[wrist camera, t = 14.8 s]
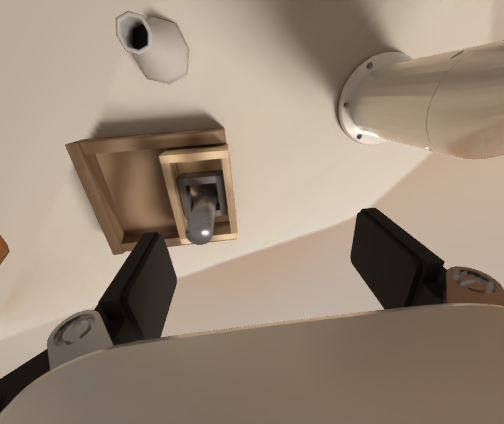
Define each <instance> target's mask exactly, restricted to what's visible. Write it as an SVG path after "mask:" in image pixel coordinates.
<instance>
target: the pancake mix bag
mask: <svg viewBox="0 0 504 424" xmlns="http://www.w3.org/2000/svg"><path fill="white" fill-rule="evenodd" d="M8 253H9V249H8V245H7V244H6V242H5V241H4V239H3V238H2V237H1V236H0V264H1V263H2V262H3V260H4V259H5V257H6V256H7V254H8Z"/></svg>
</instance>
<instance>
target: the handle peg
mask: <svg viewBox="0 0 504 424" xmlns="http://www.w3.org/2000/svg"><path fill="white" fill-rule="evenodd" d="M217 194H218V191H217V187H216V186H215V185H214V184H213V183H209V184H202V185H201V186H200V188H199V191H198V194H197V197H196V200H195V203H194V206H193V209H192V212H191V215H190V218H189V221H188V224H187V227H186V230H185V235H186V238H187V239H188V240H189V241H190V242H191V243H193V244H197V245H202V244H206V243H208V242H209V241H210V240H211V239H212V236H213V228H214V220H215V211H216V202H217Z"/></svg>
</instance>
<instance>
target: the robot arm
mask: <svg viewBox="0 0 504 424" xmlns="http://www.w3.org/2000/svg"><path fill="white" fill-rule="evenodd" d="M367 65H368V67H367ZM344 103H345V106H344ZM338 110H339V120H340V124H341V126H342V128H343V130H344V132H345V133H346V134H347V136H349V137H350V138H351V139H352V140H354V141H356V142H358V143H362V144H366V145H376V144H380V143H384V142H386V141H388V140H391V141H395V142H399V143H403V144H407V145H411V146H415V147H418V148H422V149H426V150H430V151H434V152H438V153H442V154H445V155H450V156H453V157H458V158H463V159H486V158H493V157H497V156H501V155H504V40H503V41H498V42H493V43H489V44H486V45H481V46H476V47H471V48H466V49H462V50H457V51H452V52H447V53H443V54H438V55H433V56H428V57H423V58H419V59H414V60H413V59H412V58H411V57H409V56H408V55H406V54H403V53H400V52H385V53H381V54H378V55H375V56H373V57H371V58H369V59H367V60H366V61H364V62H363V63H362V64H360V65H359V66H358V67H357V68H356V69H355V70H354V71H353V73H352V74H351V75H350V77H349V78H348V80H347V81H346V83H345V85H344V87H343V90H342V93H341V96H340V100H339V107H338ZM357 135H358V136H357ZM351 262H352V264H353V266H354V267H355V268H356V270H357V271H358V272H359V274H360V275H361V277H362V278H363V280H364V281H365V282H366V284H367V285H368V287H369V288H370V289H371V291H372V292H373V293H374V295H375V296H376V298H377V299H378V301H379V302H380V304H381V305H382V306H383V308H384V309H385V310H376V311H368V312H359V313H351V314H342V315H334V316H325V317H317V318H309V319H300V320H292V321H284V322H276V323H268V324H260V325H252V326H244V327H236V328H229V329H221V330H213V331H205V332H198V333H189V334H182V335H175V336H168V337H162V338H160V337H161V334H162V330H163V327H164V324H165V321H166V317H167V314H168V311H169V307H170V304H171V301H172V297H173V294H174V291H175V287H176V284H177V277H176V274H175V271H174V268H173V265H172V261H171V258H170V255H169V252H168V249H167V246H166V243H165V239H164V237H163V235H162V234H159V233H158V232H148V233H144V234H143V235H142V237H141V238H140V240H139V241H138V243H137V244H136V246H135V247H134V249H133V250H132V252H131V253H130V255H129V256H128V258H127V259H126V261H125V262H124V264H123V266H122V267H121V269H120V270H119V272H118V273H117V275H116V276H115V278H114V279H113V281H112V282H111V284H110V285H109V287H108V288H107V290H106V291H105V293H104V294H103V296H102V298H101V299H100V301H99V302H98V303H99V304H98V305H97V307H96V308H95V310H85V311H82V312H78V313H76V314H74V315H72V316H70V317H69V318H67V319H66V320H64V321H63V322H62V323H60V324H59V325H58V326H57V327H56V328H55V329H54V330H53V332H52V333H51V335H50V336H49V338H48V341H47V349H46V350H45V351H43V352H42V353H40V354H38V355H37V356H36V357H34V358H32V359H31V360H29V361H28V362H26V363H25V364H23V365H21V366H20V367H18V368H17V369H15V370H14V371H12V372H10V373H9V374H7V375H6V376H4V377H3V378H1V379H0V424H504V289H503V287H502V286H501V284H499V283H498V282H497V281H496V280H495V279H493V278H492V277H491V276H489V275H487V274H485V273H483V272H481V271H478V270H475V269H472V268H467V267H451V268H449V269H448V270H446V269H445V268H444V267H443V265H444V261H443V260H442V259H441V258H439V257H438V256H437V255H435V254H434V253H433V252H432V251H430V250H429V249H428V248H426V247H425V246H424V245H423V244H421V243H420V242H419V241H417V240H416V239H415V238H413V237H412V236H411V235H410V234H408V233H407V232H406V231H405V230H403V229H402V228H401V227H399V226H398V225H397V224H395V223H394V222H393V221H392V220H391V219H389V218H388V217H387V216H385V215H384V214H383V213H382V212H380V211H379V210H378V209H376V208H367V209H362V210H361V211H360V212H359V213H358V214H357V218H356V224H355V231H354V237H353V244H352V250H351Z"/></svg>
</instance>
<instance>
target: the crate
mask: <svg viewBox="0 0 504 424" xmlns="http://www.w3.org/2000/svg"><path fill="white" fill-rule="evenodd" d="M159 159H160V163H161V167H162V171H163V175H164V179H165V182H166V186H167V190H168V194H169V198H170V202H171V206H172V209H173V213H174V217H175V221H176V225H177V229H178V233H179V237H180V240H181V244H190V243H191V242H190V241H189V240H188V239H187V238H186V235H185V230H186V227H187V224H188V221H189V218H190V215H191V212H192V209H193V206H194V203H195V200H196V197H197V194H198V191H199V188H200V186H201V185H202V184H209V183H213V184H214V185H215V186H216V187H217V191H218V194H217V202H216V211H215V220H214V228H213V236H212V239H211V240H210V241H218V240H227V239H236V238H238V231H237V219H236V210H235V202H234V193H233V184H232V175H231V166H230V158H229V149H228V143H227V144H216V145H204V146H192V147H181V148H169V149H167V150H166V151H165V152H163V153H162V154H161V155H160V156H159Z"/></svg>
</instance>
